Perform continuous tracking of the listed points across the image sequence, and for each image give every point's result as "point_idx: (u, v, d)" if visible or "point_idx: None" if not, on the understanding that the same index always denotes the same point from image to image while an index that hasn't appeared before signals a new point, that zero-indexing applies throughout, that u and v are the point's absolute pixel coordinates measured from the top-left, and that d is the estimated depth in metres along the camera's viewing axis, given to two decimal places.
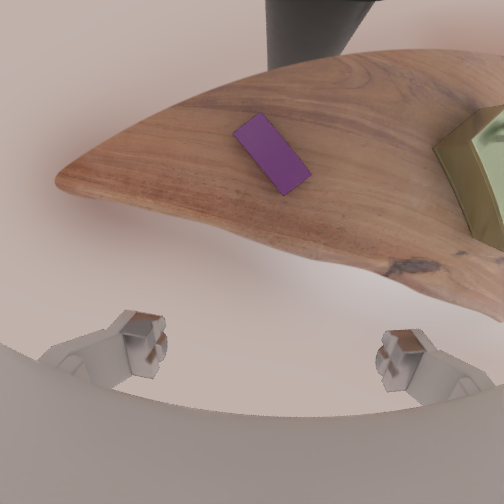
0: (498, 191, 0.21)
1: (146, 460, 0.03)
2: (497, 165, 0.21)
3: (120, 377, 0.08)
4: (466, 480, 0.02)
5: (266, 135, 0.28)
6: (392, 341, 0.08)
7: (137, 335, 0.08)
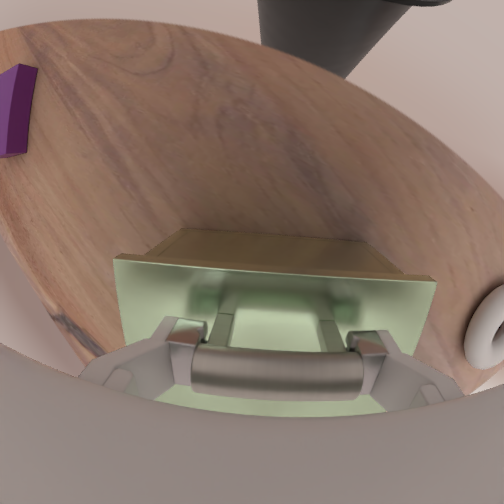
0: None
1: (146, 460, 0.03)
2: None
3: (163, 387, 0.08)
4: (466, 480, 0.02)
5: (6, 90, 0.14)
6: (353, 342, 0.08)
7: (185, 343, 0.08)
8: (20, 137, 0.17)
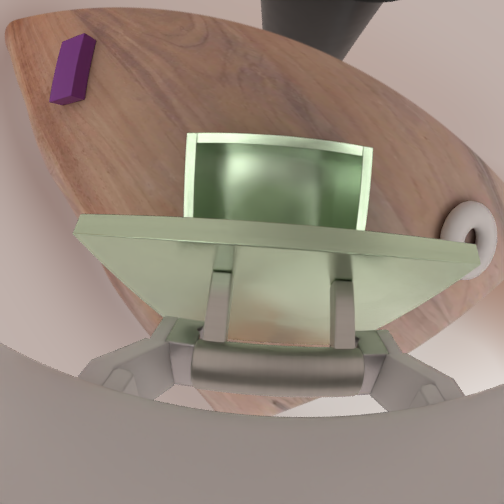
0: (159, 304, 0.14)
1: (146, 460, 0.03)
2: (173, 291, 0.11)
3: (163, 387, 0.08)
4: (466, 480, 0.02)
5: (72, 52, 0.21)
6: None
7: (185, 343, 0.08)
8: (81, 87, 0.24)
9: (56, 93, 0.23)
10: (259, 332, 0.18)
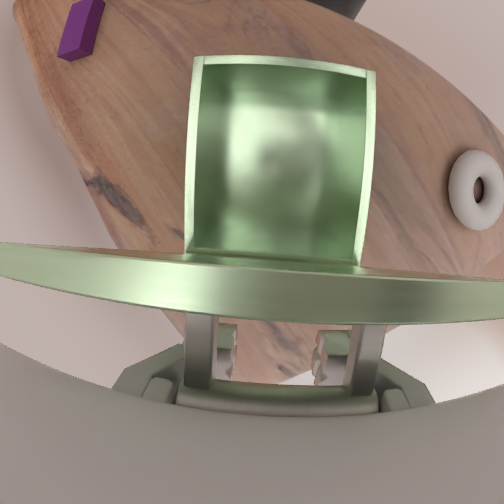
0: None
1: (146, 460, 0.03)
2: None
3: None
4: (466, 480, 0.02)
5: (82, 11, 0.19)
6: (322, 342, 0.08)
7: (220, 348, 0.08)
8: (89, 42, 0.22)
9: (64, 48, 0.20)
10: None
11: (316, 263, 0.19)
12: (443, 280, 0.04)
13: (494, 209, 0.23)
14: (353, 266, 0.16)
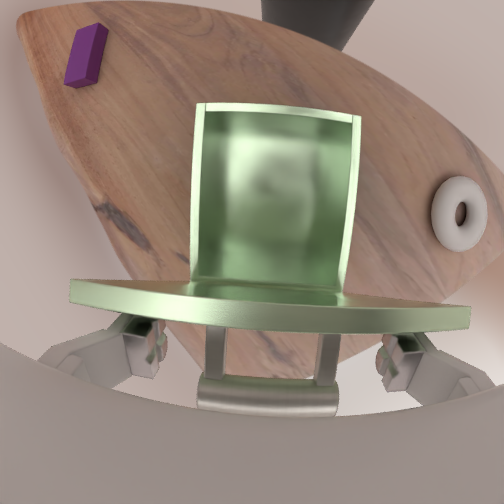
0: None
1: (146, 460, 0.03)
2: None
3: (120, 377, 0.08)
4: (466, 480, 0.02)
5: (87, 39, 0.23)
6: (392, 341, 0.08)
7: (137, 335, 0.08)
8: (94, 71, 0.26)
9: (70, 76, 0.24)
10: None
11: (303, 290, 0.22)
12: (368, 307, 0.07)
13: (475, 231, 0.27)
14: None
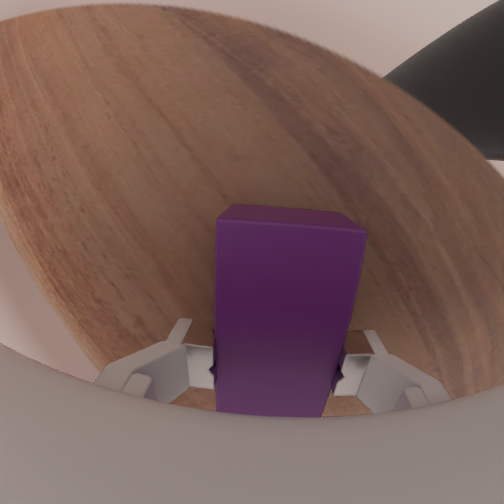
0: None
1: (146, 460, 0.03)
2: None
3: (179, 390, 0.08)
4: (466, 480, 0.02)
5: (309, 315, 0.08)
6: None
7: (202, 345, 0.08)
8: None
9: None
10: None
11: None
12: None
13: None
14: None
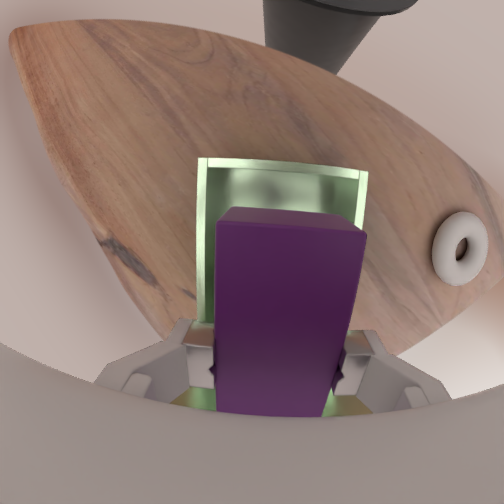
0: None
1: (146, 460, 0.03)
2: None
3: (179, 390, 0.08)
4: (466, 480, 0.02)
5: (309, 317, 0.08)
6: None
7: (202, 345, 0.08)
8: None
9: None
10: None
11: None
12: None
13: (474, 266, 0.27)
14: None
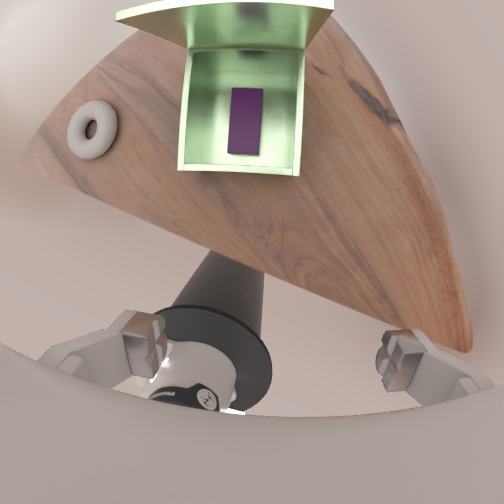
0: None
1: (146, 460, 0.03)
2: None
3: (120, 377, 0.08)
4: (466, 480, 0.02)
5: (238, 134, 0.33)
6: (392, 341, 0.08)
7: (137, 335, 0.08)
8: None
9: (252, 94, 0.31)
10: None
11: (216, 44, 0.23)
12: (175, 7, 0.11)
13: (77, 119, 0.33)
14: (193, 41, 0.21)
